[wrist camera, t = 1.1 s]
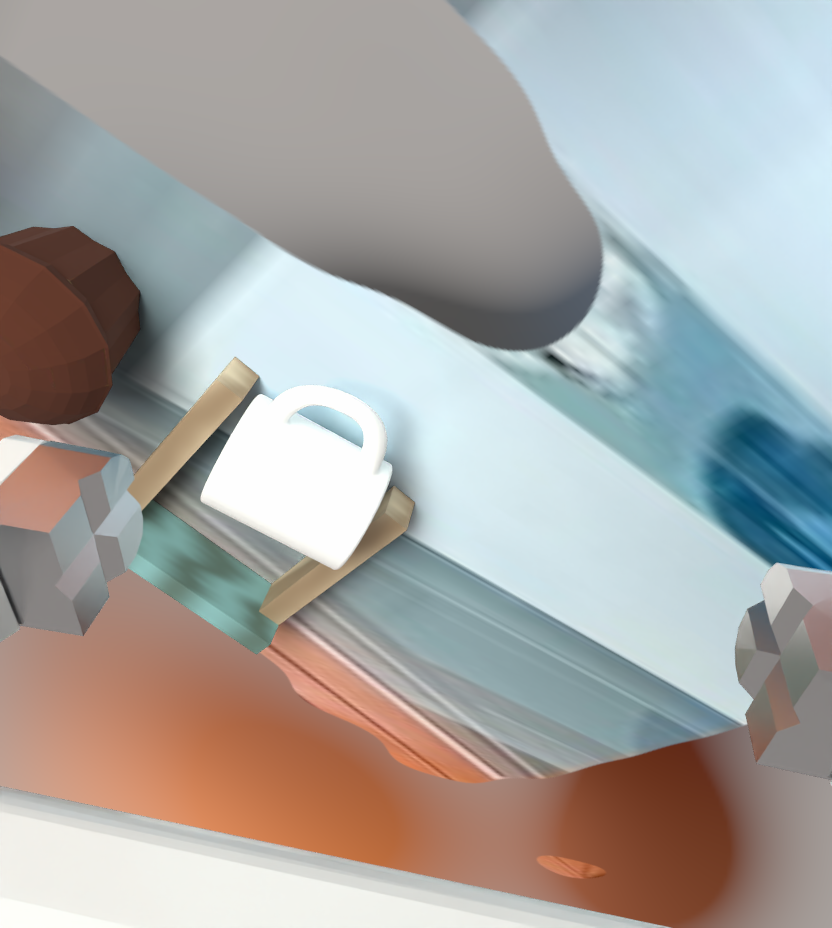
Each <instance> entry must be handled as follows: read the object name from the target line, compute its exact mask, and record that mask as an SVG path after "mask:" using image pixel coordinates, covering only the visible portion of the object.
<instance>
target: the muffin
mask: <svg viewBox="0 0 832 928" xmlns="http://www.w3.org/2000/svg"><path fill="white" fill-rule="evenodd" d="M139 298H140V291H139V290H138V288H137V287H136V286H135V284H134V283H133V282H132V280H131V279H130V277H129V276H128V275H127V273H126V272H125V270H124V268H123V266H122V264H121V262H120V260H119V259H118V257H117V255H116V253H115V252H114V251H113V250H111V249H109V248H107V247H105V246H103V245H101V244H99V243H97V242H95V241H93V240H92V239H91V238H89V237H88V236H86V235H85V234H84V233H82V232H81V231H80V230H78V229H77V228H75V227H74V226H70V227H62V228H42V227H31V228H28V229H24V230H21V231H18V232H15V233H11V234H8V235H5V236H1V237H0V415H1V416H3V417H5V418H7V419H10V420H16V421H24V422H32V423H40V424H49V425H57V424H71V423H73V422H75V421H78V420H80V419H82V418H85V417H87V416H90V415H92V414H94V413H97V412H98V411H99V409H100V407H101V405H102V404H103V402H104V400H105V398H106V396H107V394H108V392H109V391H110V389H111V387H112V376H111V375H112V373H113V372H114V370H115V368H116V367H117V365H118V364H119V362H120V361H121V359H122V357H123V356H124V354H125V353H126V351H127V350H128V348H129V346H130V345H131V343H132V342H133V340H134V338H135V337H136V335H137V334H138V332H139V331H140V323H139V313H138V308H139Z"/></svg>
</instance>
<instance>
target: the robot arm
mask: <svg viewBox="0 0 832 928" xmlns="http://www.w3.org/2000/svg"><path fill="white" fill-rule="evenodd" d="M134 479H135V478H134V475H133V471H132V467H131V463H130V460H129V459H128V458H126V457H125V456H123V455H121V454H118V453H112V452H107V451H102V450H97V449H91V448H86V447H81V446H76V445H70V444H65V443H60V442H55V441H50V442H49V441H45V440H40V439H35V438H30V437H25V436H19V435H14V436H10V437H6V438H3V439H2V440H1V441H0V642H1V641H3V640H5V639H6V638H8V637H9V636H11V635H12V634H14V633H15V632H17V631H18V630H20V627H19V626H25V627H31V628H37V629H44V630H49V631H56V632H62V633H68V634H75V635H80V636H84V634H85V633H86V631H87V629H88V628H89V627H90V625H91V624H92V622H93V621H94V619H95V618H96V616H97V615H98V613H99V612H100V610H101V609H102V607H103V606H104V604H105V603H106V601H107V600H108V598H109V592H108V587H107V582H108V581H110V580H112V579H113V578H115V577H117V576H119V575H121V574H123V573H125V572H126V571H127V569H128V568H129V566H130V565H131V563H132V561H133V560H134V558H135V557H136V554H137V551H138V548H139V545H140V542H141V538H142V535H143V516H142V511H141V506H140V504H139V503H138V502H137V501H136V499H135V498H134V497H133V496H132V495H131V494H130V493H129V492H128V491H127V489H128V487H129V486H130V485H131V483H132V482H133V481H134ZM760 585H761V589H762V593H763V597H764V601H762V602H760V603H758V604H756V605H754V606H752V607H750V608H748V609H747V611H746V613H745V615H744V617H743V619H742V622H741V624H740V626H739V629H738V634H737V640H736V645H735V665H736V670H737V675H738V681H739V683H740V684H741V685H742V687H743V688H744V689H745V690H746V691H747V692H748V693H749V694H750V695H751V697H752V698H753V699H754V700H753V702H752V704H751V705H750V707H749V709H748V710H747V712H746V714H745V715H746V719H747V724H748V728H749V733H750V738H751V742H752V747H753V752H754V756H755V761H756V764H759V765H764V766H769V767H774V768H778V769H783V770H787V771H792V772H797V773H801V774H806V775H811V776H815V777H820V778H825V779H829V780H832V571H825V570H819V569H813V568H806V567H800V566H794V565H787V564H781V563H776V564H775V565H774V566H773V567H771V568H770V569H769V570H768V572H767V573H766V575H765V577H764V579H763V581H762V582H761V584H760ZM830 784H831V786H832V781H831V782H830ZM0 928H670V927H665V926H660V925H655V924H651V923H646V922H642V921H637V920H632V919H627V918H623V917H618V916H613V915H609V914H604V913H599V912H594V911H589V910H585V909H580V908H576V907H571V906H566V905H561V904H557V903H552V902H547V901H543V900H538V899H533V898H528V897H524V896H518V895H514V894H510V893H505V892H500V891H495V890H491V889H486V888H481V887H476V886H472V885H467V884H463V883H458V882H453V881H448V880H444V879H439V878H434V877H430V876H425V875H420V874H415V873H410V872H406V871H401V870H396V869H392V868H387V867H382V866H377V865H372V864H368V863H363V862H358V861H354V860H349V859H344V858H340V857H335V856H330V855H325V854H321V853H316V852H311V851H306V850H302V849H297V848H291V847H287V846H282V845H277V844H273V843H268V842H264V841H259V840H254V839H249V838H244V837H239V836H235V835H230V834H226V833H221V832H216V831H211V830H206V829H201V828H197V827H192V826H187V825H183V824H178V823H173V822H169V821H164V820H159V819H154V818H150V817H145V816H140V815H136V814H131V813H126V812H121V811H117V810H111V809H107V808H102V807H98V806H93V805H88V804H83V803H79V802H74V801H69V800H64V799H59V798H55V797H50V796H45V795H41V794H36V793H31V792H27V791H22V790H17V789H12V788H8V787H2V786H0Z"/></svg>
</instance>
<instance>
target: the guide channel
mask: <svg viewBox="0 0 832 928" xmlns="http://www.w3.org/2000/svg"><path fill="white" fill-rule="evenodd" d="M258 378H259V376H258V375H257V374H256V373H254V372H253V371H252V370H251V369H249V368H248V367H247V366H246V365H245V364H243V363H242V362H241V361H240V360H238V359H237V358H236V357H234V358H233V360H232V361H231V362H230V363H229V364H228V365H227V367H226V368H225V369H224V370H223V371H222V372H221V374H220V375H219V376H218V377H217V378H216V380H215V381H214V382H213V383H212V384H211V385H210V387H209V388H208V389H207V390H206V391H205V392H204V394H203V395H202V396H201V397H200V398H199V399H198V401H197V402H196V403H195V404H194V405H193V406H192V408H191V409H190V410H189V411H188V412H187V413H186V415H185V416H184V417H183V418H182V419H181V420H180V422H179V423H178V424H177V425H176V426H175V428H174V429H173V430H172V431H171V432H170V433H169V435H168V436H167V437H166V438H165V439H164V440H163V442H162V443H161V444H160V445H159V446H158V447H157V449H156V450H155V451H154V452H153V453H152V454H151V456H150V457H149V458H148V459H147V460H146V461H145V463H144V464H143V465H142V466H141V467H140V468H139V470H138V471H137V472H136V473H135V474H134V478H135V479H134V481H133V482H132V483H131V485H130V486H129V487H128V489H127V491H128V492H129V493H130V494H131V495H132V496H133V497H134V498H135V499H136V501H137V502H138V503H139V504H140V506H141V511H142V516H143V535H142V538H141V542H140V545H139V548H138V551H137V554H136V557H135V558H134V560H133V561H132V563H131V565H130V566H129V569H130V570H132V571H133V572H135V573H136V574H138V575H139V576H141V577H142V578H144V579H145V580H147V581H148V582H150V583H151V584H153V585H154V586H156V587H157V588H158V589H160V590H161V591H163V592H164V593H166V594H167V595H169V596H170V597H172V598H173V599H175V600H176V601H178V602H179V603H181V604H182V605H184V606H185V607H187V608H188V609H190V610H191V611H193V612H195V613H196V614H197V615H199V616H200V617H202V618H203V619H205V620H206V621H208V622H209V623H210V624H212V625H214V626H215V627H217V628H218V629H219V630H221V631H222V632H224V633H225V634H227V635H228V636H230V637H231V638H233V639H234V640H236V641H237V642H239V643H240V644H242V645H243V646H245V647H246V648H248V649H249V650H251V651H252V652H254V653H255V654H258V653H259V652H261V651H262V650H263V649H265V648H266V647H268V646H269V645H270V644H271V642H272V639H273V637H274V635H275V632H276V630H277V628H278V625H280V624H281V623H282V622H284V621H285V620H286V619H288V618H289V617H290V616H292V615H293V614H294V613H296V612H297V611H298V610H300V609H301V608H302V607H304V606H305V605H307V604H308V603H309V602H311V601H312V600H313V599H315V598H316V597H317V596H319V595H320V594H321V593H323V592H324V591H325V590H327V589H328V588H329V587H331V586H332V585H334V584H335V583H336V582H338V581H339V580H340V579H342V578H343V577H344V576H346V575H347V574H348V573H350V572H351V571H352V570H354V569H355V568H357V567H358V566H359V565H361V564H362V563H363V562H365V561H366V560H367V559H369V558H370V557H371V556H373V555H374V554H375V553H377V552H378V551H379V550H381V549H382V548H384V547H385V546H386V545H388V544H389V543H390V542H392V541H393V540H394V539H396V538H397V537H398V536H400V535H401V534H402V533H404V532H405V531H406V530H407V528H408V525H409V521H410V518H411V514H412V511H413V507H414V504H415V502H414V501H412V500H411V499H410V498H409V497H407V496H406V495H405V494H404V493H403V492H401V491H400V490H399V489H398V488H396V487H395V486H393V487H392V488H391V489H389V490H388V491H387V492H386V493H385V495H384V497H383V499H382V501H381V503H380V506H379V508H378V510H377V512H376V514H375V516H374V518H373V519H372V521H371V523H370V525H369V527H368V529H367V531H366V532H365V534H364V536H363V537H362V539H361V541H360V542H359V544H358V546H357V547H356V549H355V550H354V552H353V553H352V555H351V556H350V558H349V559H348V560H347V562H346V563H345V564H344V565H343V566H342V567H341V568H340V569H338V570H333V569H331V568H329V567H328V566H326V565H324V564H322V563H320V562H318V561H316V560H314V559H312V558H310V557H308V556H306V557H305V558H304V559H302V560H301V561H300V562H299V563H297V564H296V565H295V566H294V567H292V568H291V569H290V570H289V571H287V572H286V573H285V574H284V575H282V576H281V577H280V578H279V579H277V580H276V581H275V582H274V583H272V584H270V583H269V582H267V581H266V580H265V579H263V578H262V577H260V576H259V575H258V574H256V573H255V572H253V571H252V570H251V569H249V568H248V567H246V566H245V565H244V564H242V563H241V562H239V561H238V560H237V559H235V558H234V557H232V556H231V555H230V554H228V553H227V552H225V551H224V550H223V549H221V548H220V547H218V546H217V545H216V544H214V543H213V542H211V541H210V540H209V539H207V538H206V537H204V536H203V535H202V534H200V533H199V532H197V531H196V530H194V529H193V528H192V527H190V526H189V525H187V524H186V523H185V522H183V521H182V520H180V519H179V518H178V517H176V516H175V515H173V514H172V513H171V512H169V511H168V510H166V509H165V508H164V507H162V506H161V505H159V504H158V503H157V502H155V501H154V500H152V499H153V498H154V497H155V496H156V495H157V494H158V492H159V491H160V490H161V489H162V488H163V487H164V486H165V485H166V484H167V483H168V481H169V480H170V479H171V478H172V477H173V476H174V475H175V474H176V473H177V472H178V470H179V469H180V468H181V467H182V466H183V465H184V464H185V463H186V462H187V461H188V460H189V458H190V457H191V456H192V455H193V454H194V453H195V452H196V451H197V450H198V449H199V447H200V446H201V445H202V444H203V443H204V442H205V441H206V440H207V439H208V438H209V436H210V435H211V434H212V433H213V432H214V431H215V430H216V429H217V428H218V427H219V426H220V424H221V423H222V422H223V421H224V420H225V419H226V418H227V417H228V416H229V415H230V413H231V412H232V411H233V410H234V409H235V408H236V407H237V406H238V405H239V404H240V402H241V401H242V400H243V399H244V398H245V396H246V395H247V393H248V392H249V390H250V389H251V388H252V386H253V385H254V383H255V382H256V380H257V379H258Z"/></svg>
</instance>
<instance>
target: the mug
mask: <svg viewBox="0 0 832 928" xmlns="http://www.w3.org/2000/svg"><path fill="white" fill-rule="evenodd" d="M312 405H320V406H326V407H329V408H332V409H335V410H337V411H340V412H342V413H344V414H346V415H348V416H350V417H351V418H353V419H354V420H355V421H356V422H357V423H358V424H359V425H360V426H361V428H362V430H363V434H364V443H363V447H362V448H361V447H359V446H357V445H355V444H353V443H351V442H350V441H348V440H346V439H344V438H342V437H340V436H339V435H337V434H335V433H333V432H331V431H329V430H328V429H326V428H324V427H322V426H320V425H318V424H317V423H315V422H313V421H311V420H309V419H307V418H306V417H304V416H302V415H300V414H298V413H296V412H297V411H299V410H300V409H302V408H304V407H307V406H312ZM386 449H387V433H386V429H385V426H384V424H383V422H382V420H381V418H380V417H379V416H378V414H377V413H376V412H375V411H374V410H373V409H372V408H371V407H370V406H368V405H367V404H366V403H364V402H363V401H361V400H360V399H358V398H356V397H354V396H352V395H350V394H348V393H346V392H343V391H340V390H337V389H334V388H330V387H325V386H318V385H304V386H298V387H294V388H291V389H289V390H287V391H285V392H283V393H281V394H280V395H279V396H277V397H276V398H275V399H274V400H272V399H271V398H269V397H267V396H265V395H263V394H259V395H258V396H256V397H255V399H254V400H253V401H252V402H251V404H250V405H249V407H248V408H247V410H246V411H245V413H244V414H243V416H242V418H241V419H240V421H239V422H238V424H237V426H236V427H235V429H234V431H233V433H232V434H231V436H230V438H229V440H228V441H227V443H226V445H225V447H224V449H223V450H222V452H221V454H220V456H219V458H218V460H217V462H216V463H215V465H214V467H213V469H212V471H211V473H210V475H209V477H208V480H207V482H206V484H205V486H204V489H203V491H202V494H201V501H202V502H203V503H204V504H206V505H208V506H210V507H212V508H214V509H216V510H218V511H220V512H222V513H224V514H226V515H228V516H230V517H232V518H234V519H236V520H238V521H240V522H242V523H244V524H246V525H247V526H249V527H251V528H253V529H255V530H257V531H259V532H261V533H263V534H265V535H267V536H269V537H271V538H273V539H275V540H277V541H279V542H281V543H283V544H285V545H287V546H288V547H290V548H292V549H294V550H296V551H298V552H300V553H302V554H304V555H306V556H308V557H310V558H312V559H314V560H316V561H318V562H320V563H322V564H324V565H326V566H328V567H329V568H331V569H333V570H338V569H340V568H341V567H342V566H343V565H344V564H345V563H346V562H347V560H348V559H349V558H350V556H351V555H352V553H353V552H354V550H355V549H356V547H357V546H358V544H359V542H360V541H361V539H362V537H363V536H364V534H365V532H366V531H367V529H368V527H369V525H370V523H371V521H372V519H373V518H374V516H375V514H376V512H377V510H378V508H379V506H380V503H381V501H382V499H383V497H384V495H385V492H386V490H387V487H388V485H389V482H390V479H391V475H392V465H391V464H390V463H388V462H386V461H385V460H383V459H384V457H385V453H386Z"/></svg>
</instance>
